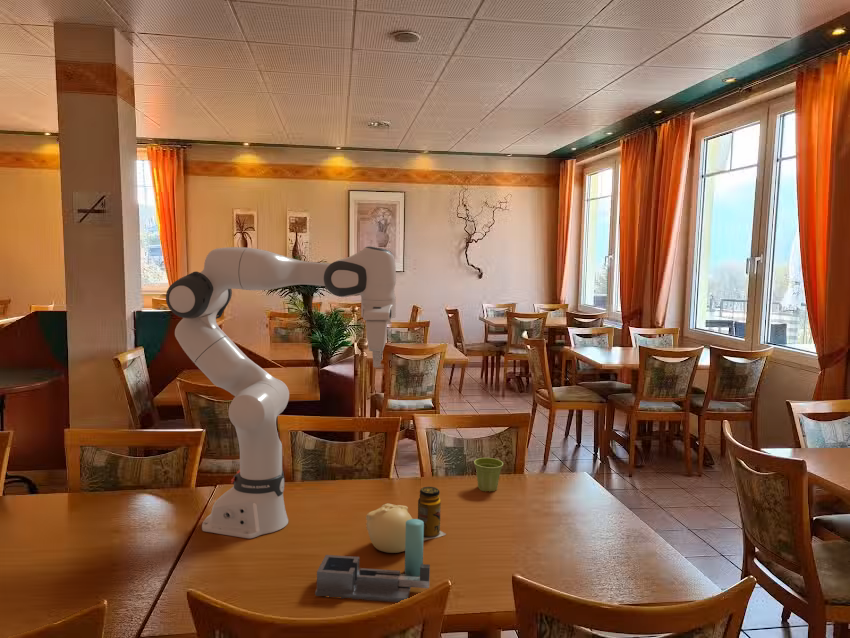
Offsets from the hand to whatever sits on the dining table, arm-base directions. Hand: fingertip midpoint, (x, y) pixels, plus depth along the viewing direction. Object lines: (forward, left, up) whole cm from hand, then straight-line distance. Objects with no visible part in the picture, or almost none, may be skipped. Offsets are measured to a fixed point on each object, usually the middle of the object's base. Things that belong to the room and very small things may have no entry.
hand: (378, 363), depth 160 cm
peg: (+12, -19, -46) cm, 51 cm away
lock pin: (+10, -27, -44) cm, 53 cm away
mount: (+2, -27, -46) cm, 53 cm away
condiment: (+13, +2, -46) cm, 48 cm away
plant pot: (+30, +37, -46) cm, 66 cm away
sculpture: (+5, -7, -46) cm, 47 cm away
